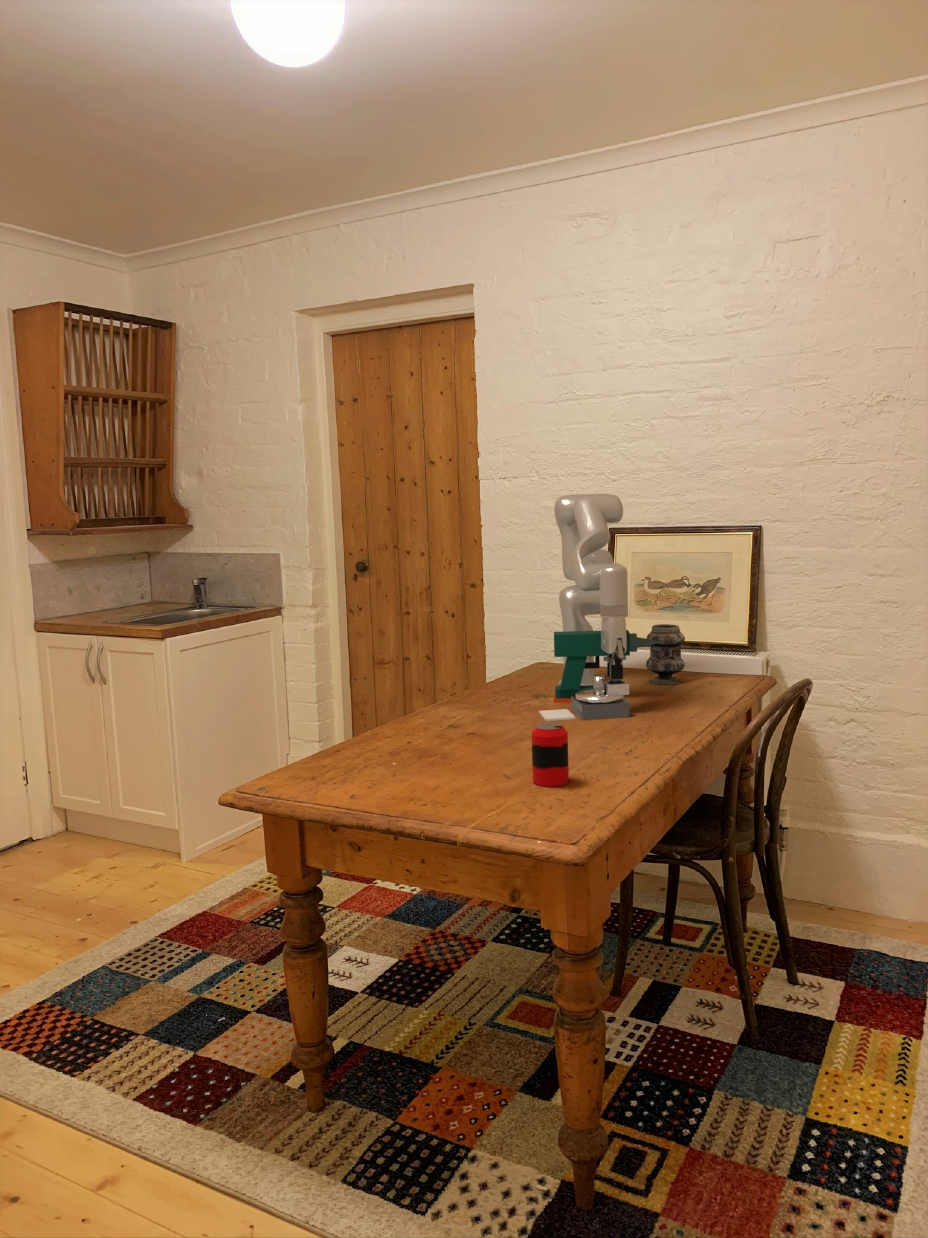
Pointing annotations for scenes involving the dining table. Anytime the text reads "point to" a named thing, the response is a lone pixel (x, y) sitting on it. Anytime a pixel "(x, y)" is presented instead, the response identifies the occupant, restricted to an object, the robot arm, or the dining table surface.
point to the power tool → (584, 658)
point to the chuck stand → (600, 709)
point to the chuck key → (609, 658)
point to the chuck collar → (603, 691)
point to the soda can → (550, 755)
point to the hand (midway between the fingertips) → (615, 677)
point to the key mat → (557, 715)
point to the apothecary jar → (665, 653)
